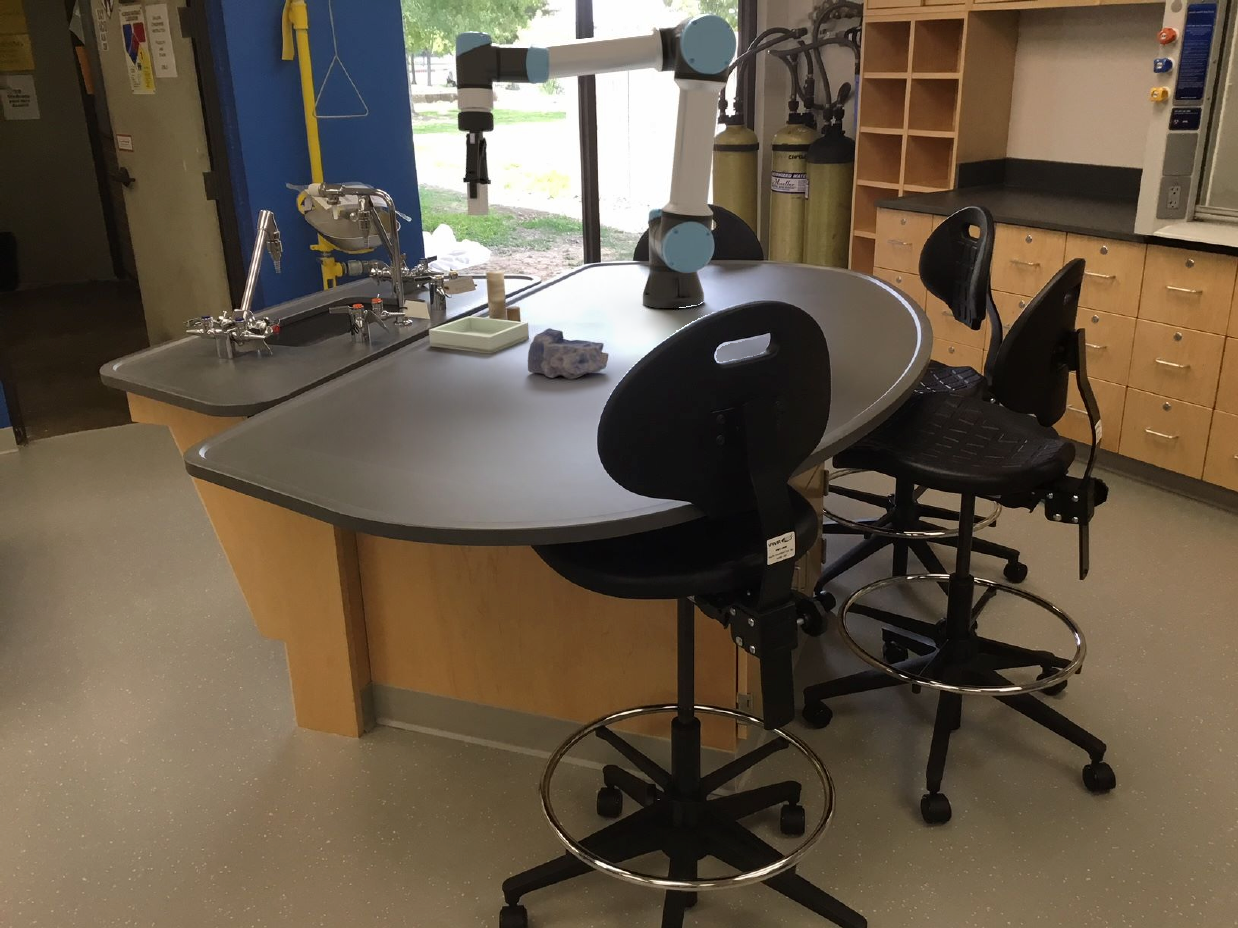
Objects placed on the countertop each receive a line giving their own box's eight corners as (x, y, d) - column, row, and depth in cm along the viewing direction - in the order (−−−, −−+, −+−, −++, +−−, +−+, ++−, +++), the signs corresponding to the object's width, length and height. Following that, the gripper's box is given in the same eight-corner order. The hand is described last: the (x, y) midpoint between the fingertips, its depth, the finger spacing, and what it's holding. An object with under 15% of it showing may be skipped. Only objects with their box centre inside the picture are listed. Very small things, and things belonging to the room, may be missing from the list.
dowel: (510, 323, 234) (507, 271, 230) (500, 327, 231) (496, 274, 226) (496, 321, 236) (492, 270, 232) (486, 325, 233) (482, 273, 228)
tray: (529, 338, 220) (528, 322, 219) (490, 353, 209) (489, 337, 208) (470, 331, 228) (469, 316, 227) (430, 345, 217) (428, 329, 215)
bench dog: (523, 328, 229) (522, 307, 227) (516, 331, 226) (514, 309, 224) (512, 327, 230) (511, 305, 228) (505, 330, 228) (503, 308, 226)
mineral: (522, 332, 188) (548, 317, 196) (522, 379, 193) (547, 363, 201) (592, 347, 183) (615, 331, 191) (590, 395, 188) (612, 377, 196)
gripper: (465, 116, 226) (468, 214, 231) (448, 106, 202) (452, 215, 207) (499, 117, 226) (501, 214, 231) (486, 106, 202) (489, 215, 207)
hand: (478, 215), depth 219 cm, fingers open, 13 cm apart
